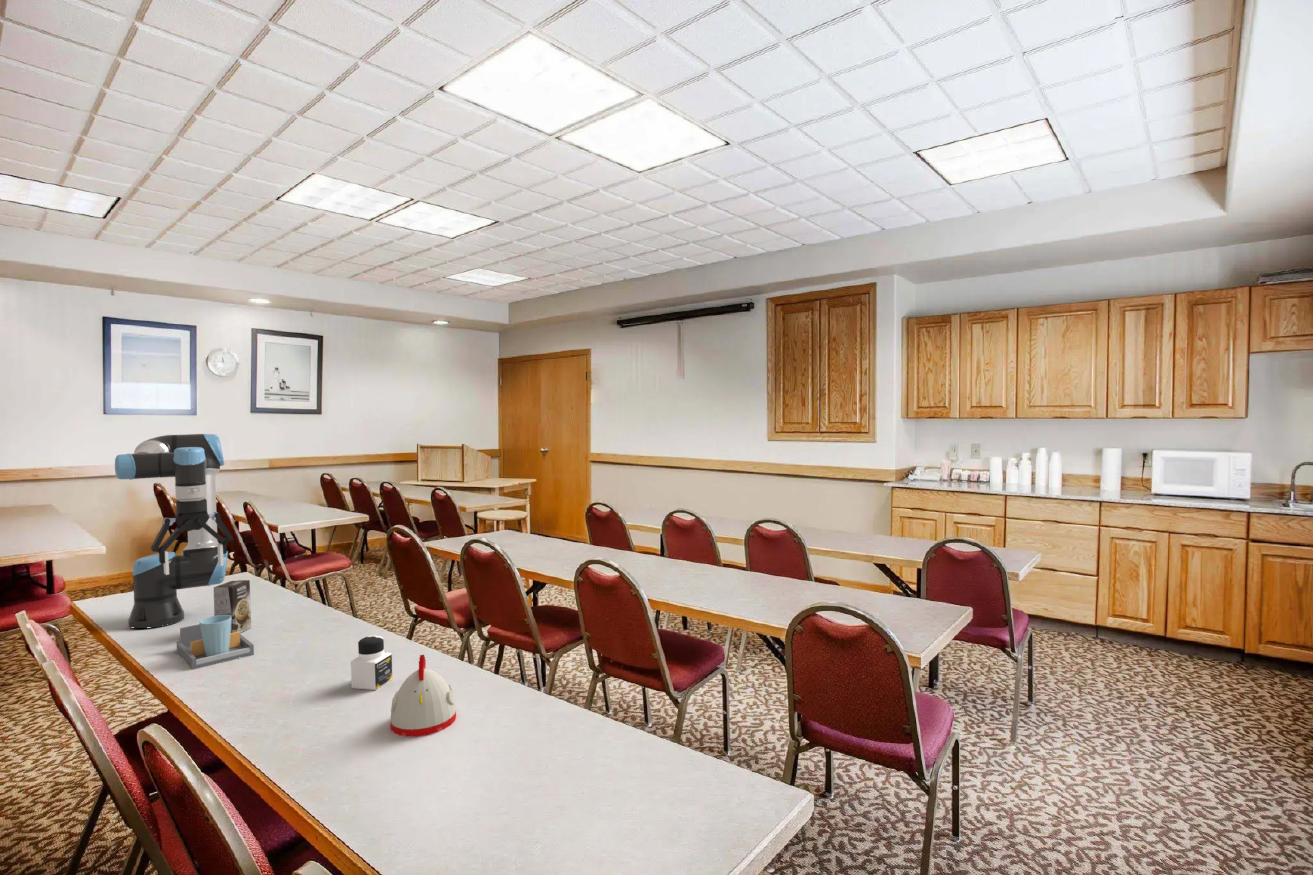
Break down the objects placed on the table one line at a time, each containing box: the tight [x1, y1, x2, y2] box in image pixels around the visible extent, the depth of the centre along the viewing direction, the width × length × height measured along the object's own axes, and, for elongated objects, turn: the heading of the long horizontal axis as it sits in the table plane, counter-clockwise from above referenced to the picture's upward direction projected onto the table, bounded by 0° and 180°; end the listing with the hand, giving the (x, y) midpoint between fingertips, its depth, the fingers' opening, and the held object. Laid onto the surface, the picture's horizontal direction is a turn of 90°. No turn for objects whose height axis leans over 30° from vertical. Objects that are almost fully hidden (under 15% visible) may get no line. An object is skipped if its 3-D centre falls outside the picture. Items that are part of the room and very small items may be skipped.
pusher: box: [190, 631, 241, 656], centre depth 194 cm, size 6×12×4 cm, turn 136°
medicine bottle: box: [350, 635, 393, 691], centre depth 168 cm, size 7×7×12 cm
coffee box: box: [213, 579, 252, 634], centre depth 212 cm, size 9×6×16 cm
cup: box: [199, 615, 231, 657], centre depth 189 cm, size 8×8×10 cm
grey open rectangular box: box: [176, 619, 255, 670], centre depth 193 cm, size 20×15×7 cm
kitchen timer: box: [390, 654, 457, 738], centre depth 147 cm, size 14×14×15 cm
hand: (194, 569), depth 196 cm, fingers open, 13 cm apart
